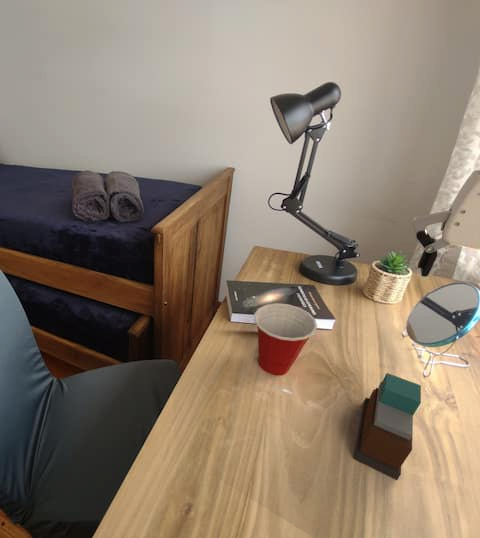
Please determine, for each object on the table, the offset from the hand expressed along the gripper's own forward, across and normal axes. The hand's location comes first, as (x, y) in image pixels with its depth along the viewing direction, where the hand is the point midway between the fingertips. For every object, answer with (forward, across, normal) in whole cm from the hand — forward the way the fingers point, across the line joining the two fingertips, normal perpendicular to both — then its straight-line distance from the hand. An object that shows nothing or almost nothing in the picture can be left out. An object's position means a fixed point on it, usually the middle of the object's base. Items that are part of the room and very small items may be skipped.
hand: (464, 281), depth 53 cm
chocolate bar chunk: (+24, +3, +13) cm, 28 cm away
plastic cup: (+24, +22, +6) cm, 33 cm away
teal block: (+18, +3, +13) cm, 22 cm away
